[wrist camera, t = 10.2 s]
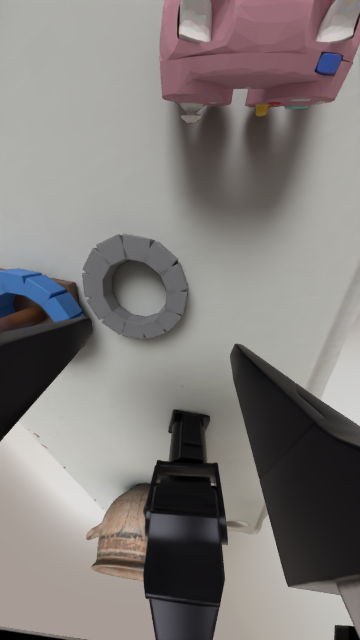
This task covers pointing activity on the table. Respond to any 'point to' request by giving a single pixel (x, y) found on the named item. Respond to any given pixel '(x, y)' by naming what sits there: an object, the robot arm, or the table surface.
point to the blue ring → (36, 294)
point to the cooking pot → (123, 536)
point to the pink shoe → (256, 52)
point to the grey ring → (105, 303)
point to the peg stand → (31, 310)
